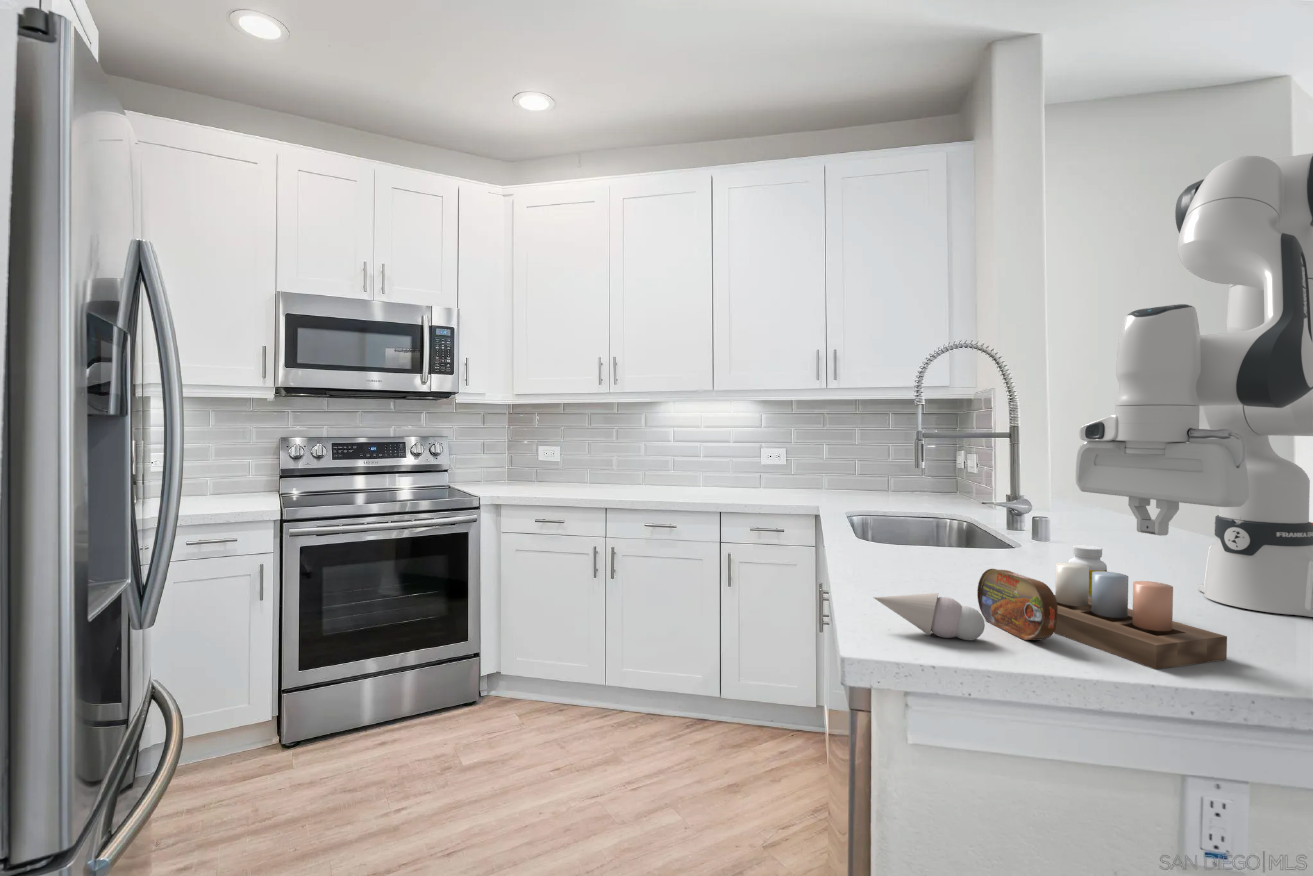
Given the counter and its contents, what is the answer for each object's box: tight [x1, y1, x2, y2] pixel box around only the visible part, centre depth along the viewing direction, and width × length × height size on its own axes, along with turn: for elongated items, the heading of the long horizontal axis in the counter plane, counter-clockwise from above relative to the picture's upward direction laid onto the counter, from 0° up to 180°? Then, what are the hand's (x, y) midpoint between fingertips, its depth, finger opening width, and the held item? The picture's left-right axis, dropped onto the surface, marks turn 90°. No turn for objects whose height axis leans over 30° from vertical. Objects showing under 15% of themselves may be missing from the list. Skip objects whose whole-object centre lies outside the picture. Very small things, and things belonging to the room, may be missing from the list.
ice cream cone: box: [873, 592, 986, 641], centre depth 93 cm, size 6×6×15 cm
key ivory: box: [1054, 562, 1089, 606], centre depth 98 cm, size 4×4×6 cm
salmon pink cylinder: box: [1132, 580, 1174, 631], centre depth 86 cm, size 4×4×6 cm
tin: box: [976, 568, 1058, 641], centre depth 95 cm, size 15×3×8 cm, turn 5°
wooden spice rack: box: [1053, 594, 1228, 670], centre depth 92 cm, size 12×22×3 cm, turn 16°
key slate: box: [1092, 571, 1129, 618], centre depth 92 cm, size 4×4×6 cm
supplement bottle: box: [1067, 544, 1108, 598], centre depth 107 cm, size 5×5×10 cm
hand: (1152, 533), depth 86 cm, fingers closed
